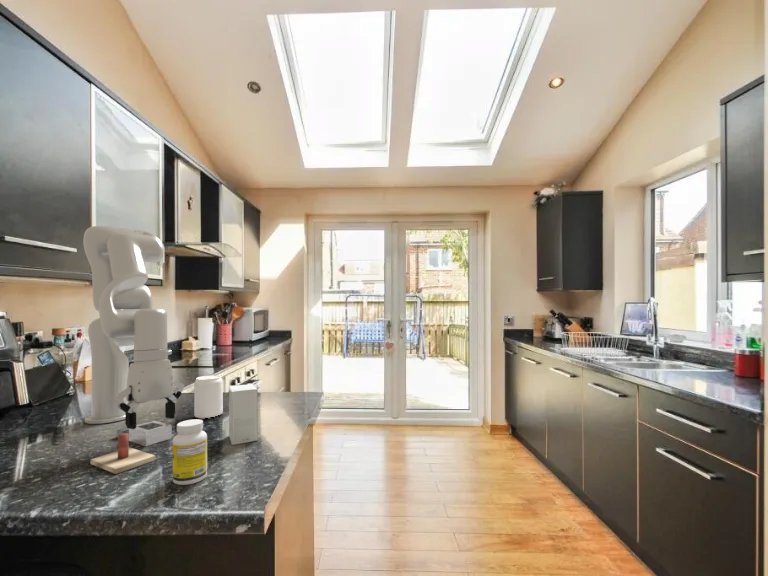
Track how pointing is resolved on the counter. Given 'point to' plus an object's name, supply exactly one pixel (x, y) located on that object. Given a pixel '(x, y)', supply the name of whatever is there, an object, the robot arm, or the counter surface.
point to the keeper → (122, 457)
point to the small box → (243, 414)
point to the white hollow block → (150, 433)
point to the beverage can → (208, 396)
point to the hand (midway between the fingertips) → (151, 423)
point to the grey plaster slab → (124, 430)
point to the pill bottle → (189, 453)
